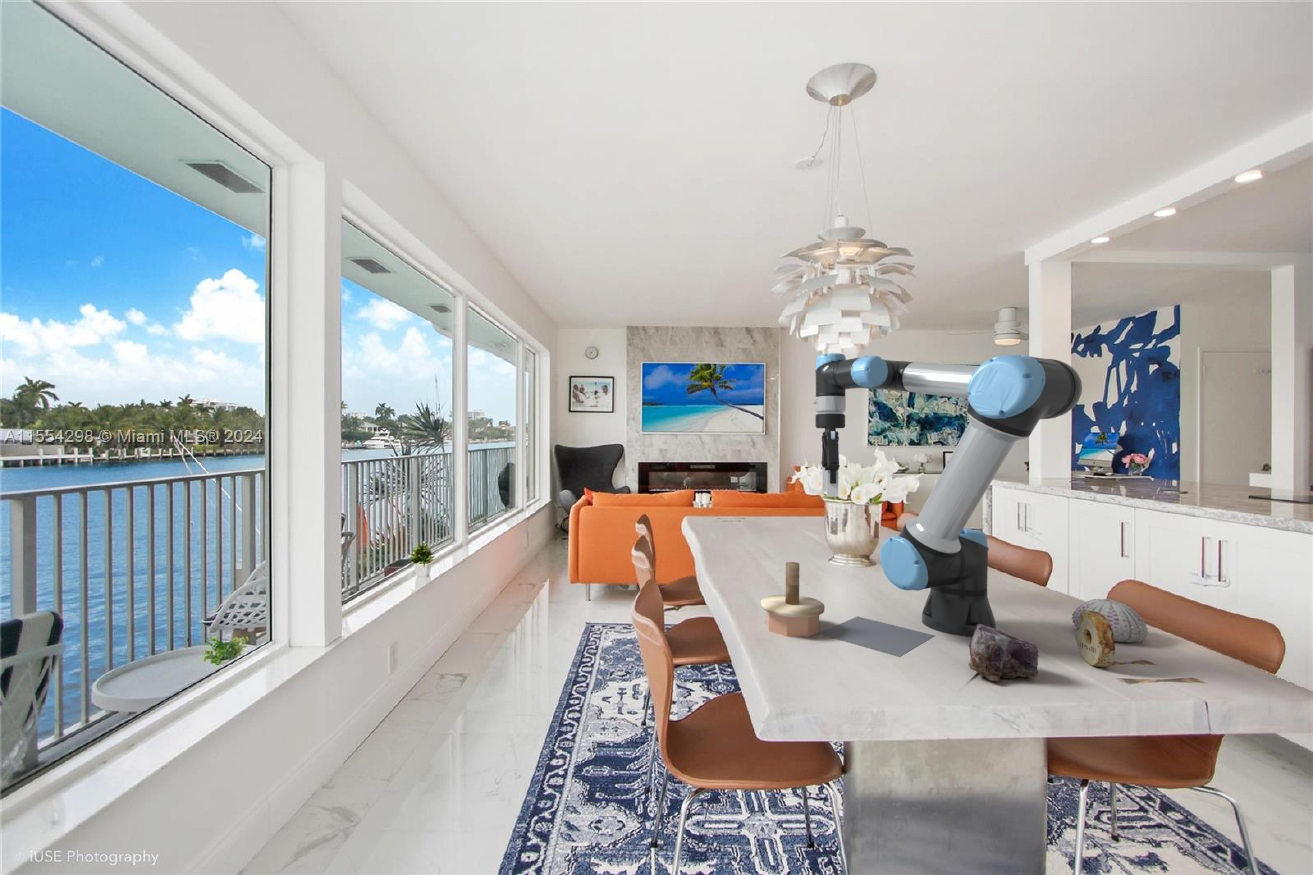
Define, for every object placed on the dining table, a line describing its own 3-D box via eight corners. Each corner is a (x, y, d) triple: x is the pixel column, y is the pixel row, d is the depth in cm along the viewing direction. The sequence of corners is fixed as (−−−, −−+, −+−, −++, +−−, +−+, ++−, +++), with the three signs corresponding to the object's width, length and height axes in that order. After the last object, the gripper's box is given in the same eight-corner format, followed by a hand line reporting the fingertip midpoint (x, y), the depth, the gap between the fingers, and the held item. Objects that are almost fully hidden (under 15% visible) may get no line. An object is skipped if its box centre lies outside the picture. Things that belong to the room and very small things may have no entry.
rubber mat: (935, 637, 125) (935, 635, 125) (899, 658, 113) (899, 656, 113) (857, 618, 138) (857, 616, 138) (818, 635, 126) (818, 633, 126)
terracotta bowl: (826, 630, 129) (826, 608, 129) (799, 642, 122) (799, 618, 122) (785, 618, 137) (785, 597, 137) (757, 629, 130) (757, 607, 130)
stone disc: (1120, 675, 106) (1120, 621, 106) (1096, 673, 107) (1096, 619, 107) (1095, 655, 116) (1095, 605, 116) (1073, 652, 117) (1074, 604, 117)
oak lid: (836, 608, 129) (836, 563, 129) (802, 621, 120) (803, 573, 120) (783, 595, 139) (783, 554, 139) (748, 607, 130) (748, 562, 130)
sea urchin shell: (1061, 624, 135) (1062, 590, 135) (1129, 629, 132) (1130, 594, 132) (1087, 643, 122) (1087, 606, 122) (1163, 650, 119) (1163, 611, 119)
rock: (1042, 692, 101) (1005, 668, 111) (1051, 645, 101) (1013, 625, 111) (978, 682, 101) (947, 658, 111) (987, 635, 101) (955, 615, 111)
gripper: (812, 415, 163) (811, 489, 163) (819, 411, 139) (818, 498, 139) (839, 415, 162) (839, 490, 162) (851, 411, 137) (851, 499, 137)
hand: (829, 494), depth 150 cm, fingers open, 13 cm apart
